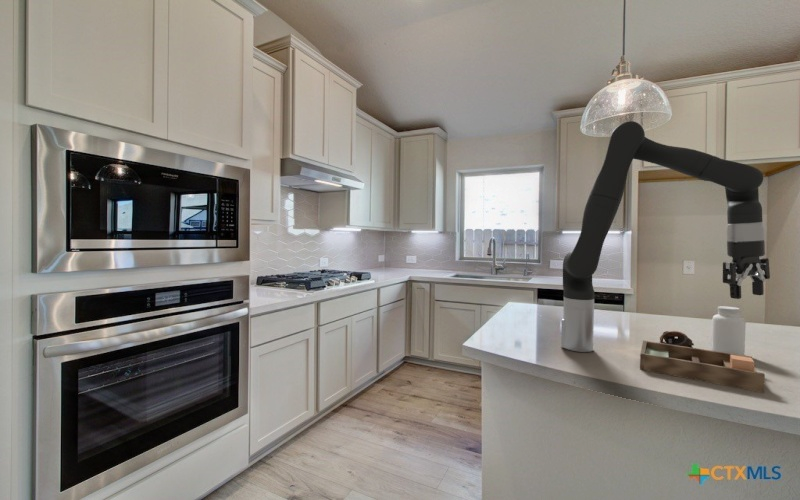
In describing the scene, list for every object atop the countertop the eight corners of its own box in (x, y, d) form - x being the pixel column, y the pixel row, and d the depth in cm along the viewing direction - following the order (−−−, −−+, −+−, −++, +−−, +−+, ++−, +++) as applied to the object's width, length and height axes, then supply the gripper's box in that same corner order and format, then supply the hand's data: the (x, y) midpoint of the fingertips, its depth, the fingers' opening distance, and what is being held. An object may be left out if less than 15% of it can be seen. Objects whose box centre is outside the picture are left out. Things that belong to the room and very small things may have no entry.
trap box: (639, 369, 101) (640, 353, 101) (642, 354, 114) (643, 340, 114) (763, 392, 86) (764, 374, 86) (751, 372, 99) (751, 356, 99)
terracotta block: (731, 374, 91) (732, 358, 91) (729, 369, 94) (730, 354, 94) (753, 377, 89) (754, 362, 89) (750, 372, 92) (751, 357, 92)
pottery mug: (706, 360, 110) (698, 339, 108) (674, 371, 111) (667, 351, 110) (679, 339, 121) (672, 320, 119) (651, 350, 123) (644, 331, 121)
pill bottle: (704, 349, 119) (706, 305, 118) (726, 349, 119) (728, 305, 119) (728, 357, 111) (730, 310, 110) (751, 357, 111) (753, 309, 111)
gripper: (747, 237, 104) (749, 292, 105) (711, 241, 101) (713, 297, 101) (780, 237, 97) (782, 295, 98) (742, 241, 93) (744, 301, 94)
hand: (747, 296), depth 99 cm, fingers open, 8 cm apart
